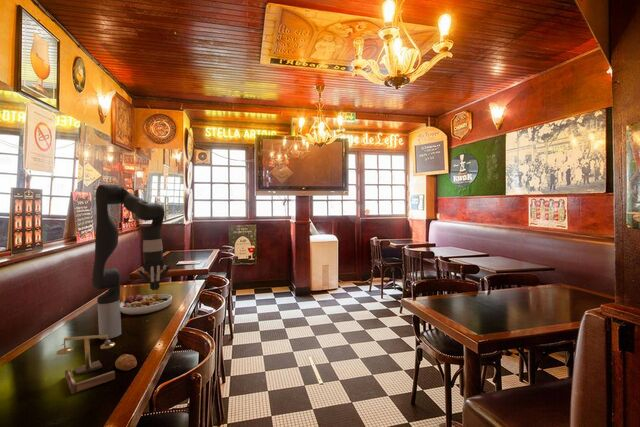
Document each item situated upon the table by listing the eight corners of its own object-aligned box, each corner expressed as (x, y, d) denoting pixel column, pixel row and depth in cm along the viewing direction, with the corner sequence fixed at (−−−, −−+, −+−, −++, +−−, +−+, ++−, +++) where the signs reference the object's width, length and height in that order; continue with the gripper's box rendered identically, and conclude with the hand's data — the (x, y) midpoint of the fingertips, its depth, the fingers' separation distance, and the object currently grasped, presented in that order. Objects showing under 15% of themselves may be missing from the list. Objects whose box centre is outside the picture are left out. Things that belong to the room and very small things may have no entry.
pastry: (141, 366, 126) (141, 356, 126) (123, 374, 121) (122, 364, 121) (131, 360, 132) (130, 351, 132) (113, 367, 127) (112, 357, 126)
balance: (58, 381, 117) (56, 342, 116) (57, 375, 121) (54, 338, 121) (117, 362, 130) (115, 327, 129) (114, 358, 134) (112, 324, 134)
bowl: (181, 301, 216) (181, 289, 215) (151, 316, 186) (150, 303, 186) (142, 300, 221) (142, 289, 221) (106, 315, 191) (105, 302, 191)
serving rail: (65, 377, 120) (64, 369, 119) (105, 364, 128) (105, 356, 128) (71, 393, 108) (71, 384, 108) (115, 378, 117) (114, 370, 117)
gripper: (166, 247, 145) (167, 285, 145) (133, 251, 136) (135, 291, 136) (172, 248, 140) (174, 288, 140) (138, 252, 130) (140, 294, 131)
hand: (154, 289), depth 138 cm, fingers closed
